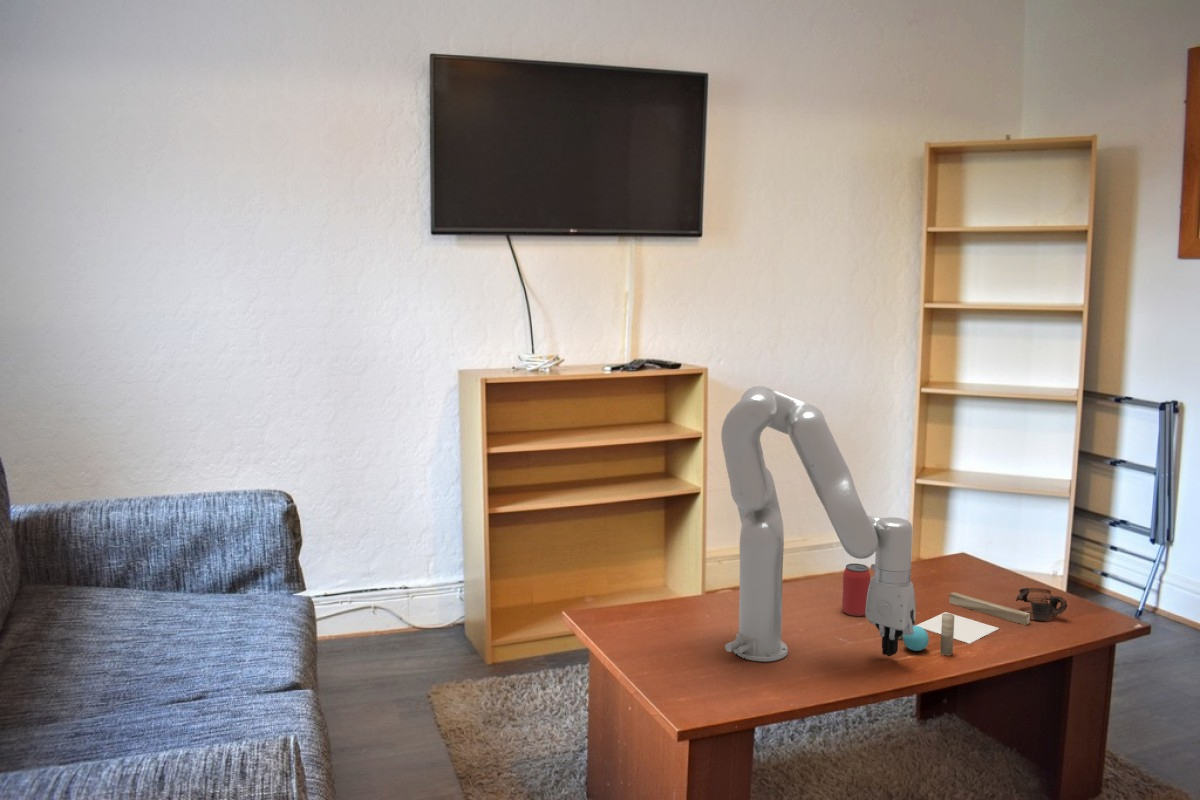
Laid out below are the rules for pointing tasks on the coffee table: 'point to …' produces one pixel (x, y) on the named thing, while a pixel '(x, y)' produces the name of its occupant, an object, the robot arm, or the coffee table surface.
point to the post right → (947, 634)
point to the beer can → (855, 589)
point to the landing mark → (960, 628)
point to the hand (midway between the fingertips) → (889, 653)
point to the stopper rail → (989, 608)
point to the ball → (916, 639)
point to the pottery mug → (1042, 603)
